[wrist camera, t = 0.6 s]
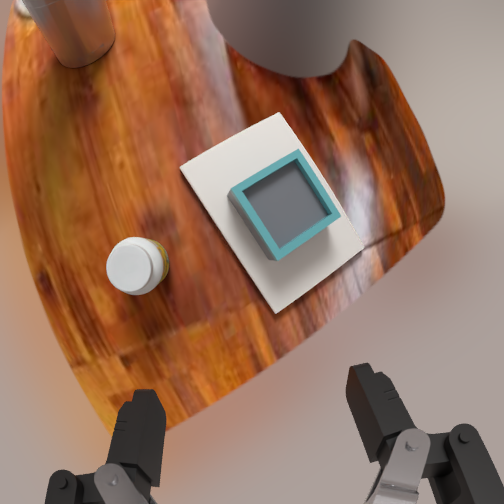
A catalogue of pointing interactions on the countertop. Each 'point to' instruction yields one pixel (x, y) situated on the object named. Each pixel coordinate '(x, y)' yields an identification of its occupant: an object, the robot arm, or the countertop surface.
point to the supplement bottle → (137, 265)
